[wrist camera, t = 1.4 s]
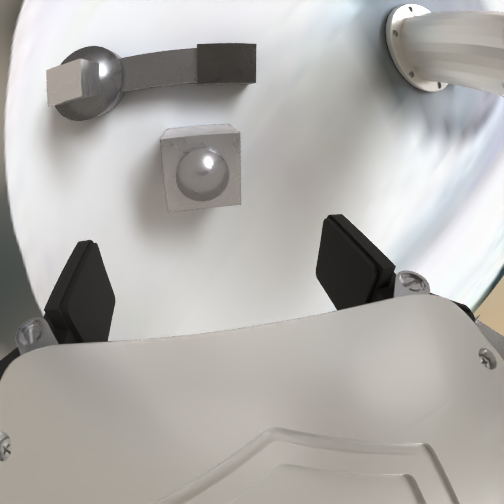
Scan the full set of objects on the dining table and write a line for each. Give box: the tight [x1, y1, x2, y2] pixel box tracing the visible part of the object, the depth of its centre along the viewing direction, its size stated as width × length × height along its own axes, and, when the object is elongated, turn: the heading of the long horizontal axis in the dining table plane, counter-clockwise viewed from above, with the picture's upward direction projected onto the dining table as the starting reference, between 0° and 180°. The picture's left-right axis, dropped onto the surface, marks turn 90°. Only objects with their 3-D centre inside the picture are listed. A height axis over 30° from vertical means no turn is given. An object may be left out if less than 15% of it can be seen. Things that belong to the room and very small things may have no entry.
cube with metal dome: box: [160, 124, 241, 212], centre depth 23 cm, size 6×6×8 cm
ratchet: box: [46, 43, 256, 121], centre depth 17 cm, size 18×7×8 cm, turn 90°
